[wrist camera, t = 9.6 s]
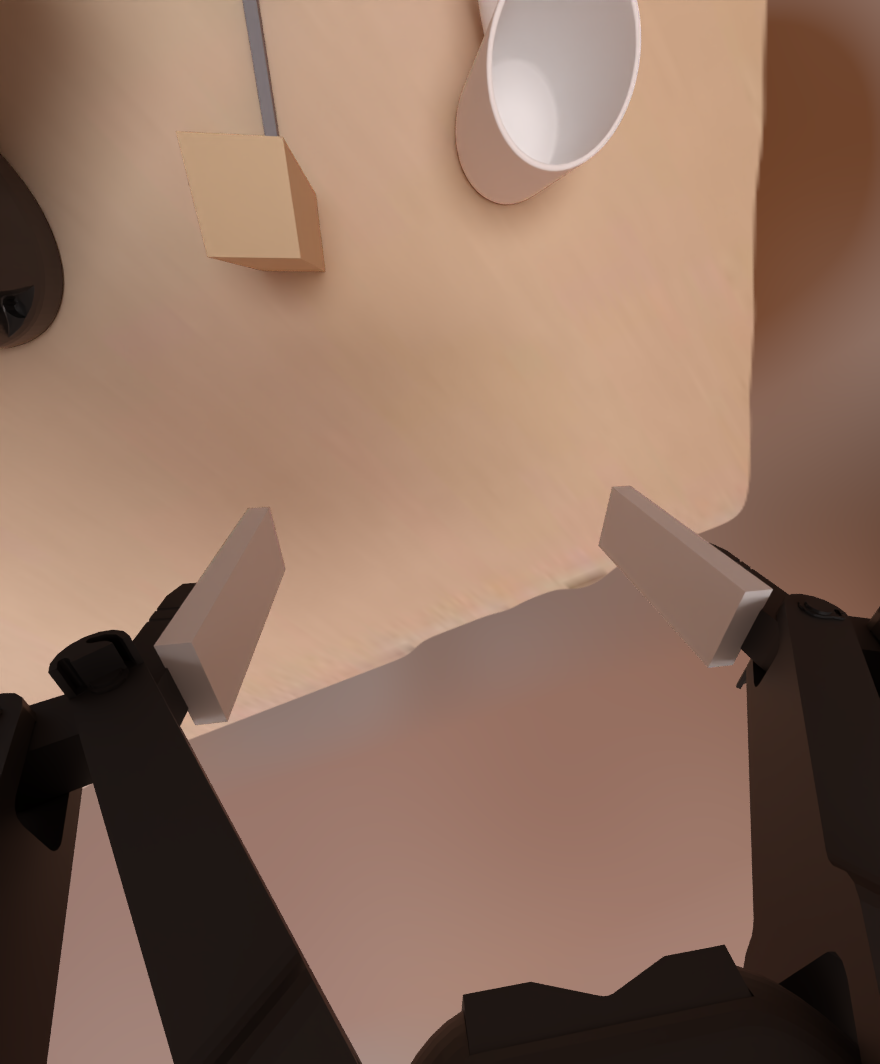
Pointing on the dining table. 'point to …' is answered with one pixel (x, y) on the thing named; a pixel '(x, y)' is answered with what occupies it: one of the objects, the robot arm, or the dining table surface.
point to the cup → (544, 91)
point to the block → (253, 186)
